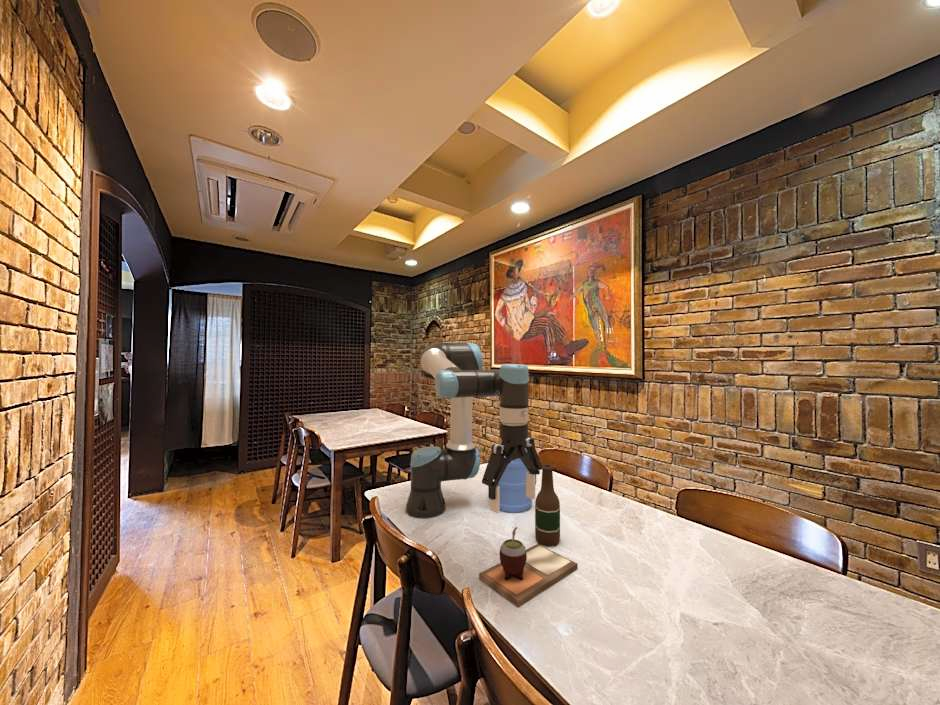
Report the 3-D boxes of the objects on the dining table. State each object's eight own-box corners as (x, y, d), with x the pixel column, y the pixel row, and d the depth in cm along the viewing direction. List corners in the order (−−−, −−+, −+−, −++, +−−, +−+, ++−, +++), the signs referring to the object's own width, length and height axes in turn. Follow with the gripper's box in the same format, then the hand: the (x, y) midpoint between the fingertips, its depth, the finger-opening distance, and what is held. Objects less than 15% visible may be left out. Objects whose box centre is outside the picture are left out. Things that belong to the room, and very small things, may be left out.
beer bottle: (560, 548, 110) (560, 470, 111) (534, 546, 112) (534, 468, 112) (559, 536, 118) (559, 462, 118) (535, 534, 119) (535, 461, 120)
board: (479, 579, 95) (479, 572, 95) (537, 548, 110) (537, 542, 110) (518, 607, 84) (518, 599, 84) (577, 569, 100) (577, 562, 100)
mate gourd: (511, 564, 99) (511, 509, 99) (534, 576, 93) (534, 518, 93) (492, 575, 94) (492, 517, 94) (516, 589, 88) (516, 527, 88)
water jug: (537, 502, 146) (537, 433, 146) (521, 516, 132) (521, 440, 133) (503, 494, 154) (503, 429, 155) (485, 507, 141) (485, 435, 141)
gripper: (488, 432, 83) (488, 523, 83) (555, 419, 99) (554, 496, 99) (468, 426, 89) (467, 512, 89) (533, 415, 105) (533, 488, 105)
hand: (513, 504), depth 94 cm, fingers open, 13 cm apart
